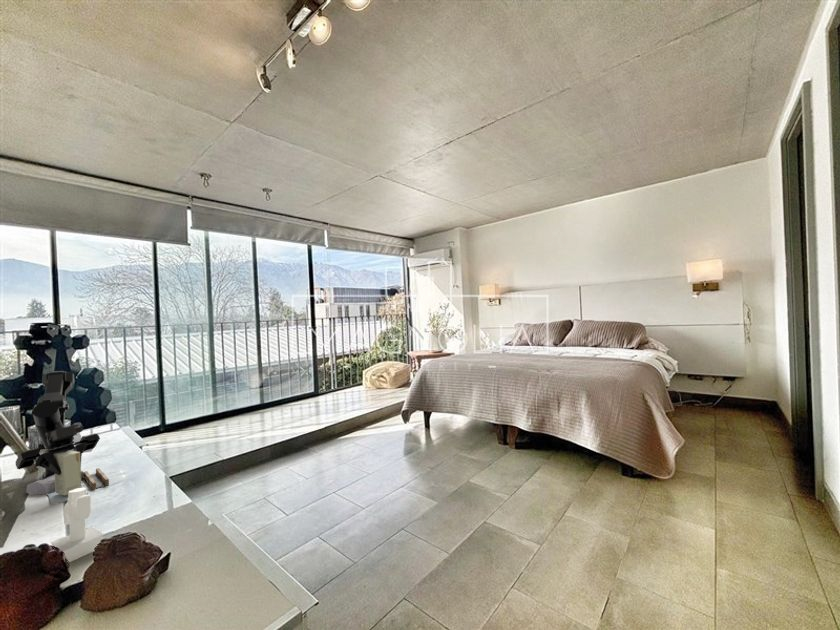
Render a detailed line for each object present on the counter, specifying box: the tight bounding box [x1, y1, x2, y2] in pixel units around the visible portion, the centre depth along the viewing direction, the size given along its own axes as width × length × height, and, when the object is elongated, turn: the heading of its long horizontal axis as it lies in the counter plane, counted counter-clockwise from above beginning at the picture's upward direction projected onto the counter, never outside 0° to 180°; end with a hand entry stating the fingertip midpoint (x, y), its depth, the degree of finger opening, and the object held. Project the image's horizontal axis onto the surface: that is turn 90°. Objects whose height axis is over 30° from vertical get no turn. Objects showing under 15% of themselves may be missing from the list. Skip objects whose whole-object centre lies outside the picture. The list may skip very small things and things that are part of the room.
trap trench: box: [83, 467, 110, 490], centre depth 121 cm, size 16×4×2 cm, turn 51°
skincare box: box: [54, 450, 82, 495], centre depth 112 cm, size 6×4×12 cm
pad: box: [47, 484, 89, 506], centre depth 112 cm, size 10×8×1 cm
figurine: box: [50, 487, 105, 563], centre depth 82 cm, size 7×9×15 cm
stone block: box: [25, 470, 85, 495], centre depth 119 cm, size 12×5×10 cm
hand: (70, 471), depth 111 cm, fingers closed on skincare box, 4 cm apart
